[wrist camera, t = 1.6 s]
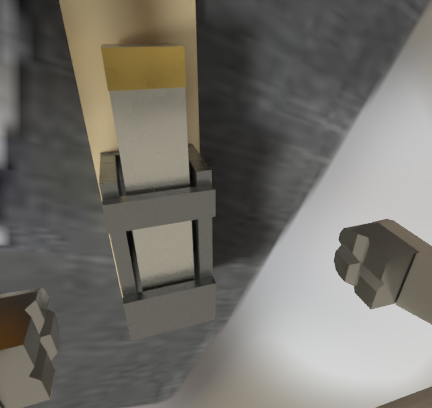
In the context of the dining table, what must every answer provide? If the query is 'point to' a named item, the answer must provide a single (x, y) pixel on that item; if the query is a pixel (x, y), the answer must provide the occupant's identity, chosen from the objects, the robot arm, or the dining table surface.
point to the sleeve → (156, 216)
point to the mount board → (125, 34)
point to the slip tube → (153, 148)
